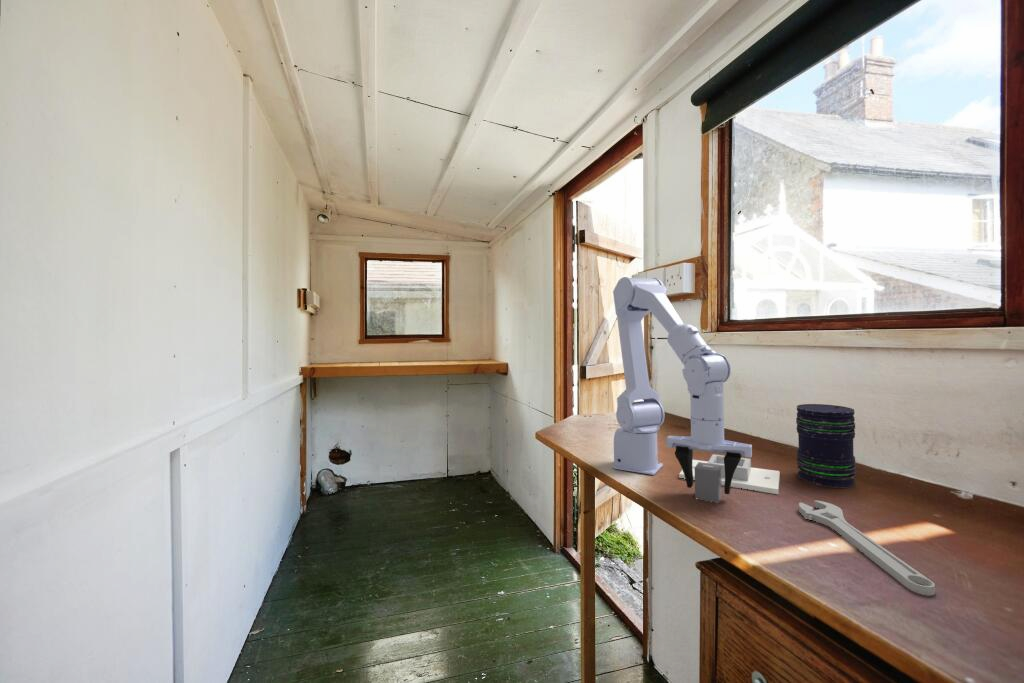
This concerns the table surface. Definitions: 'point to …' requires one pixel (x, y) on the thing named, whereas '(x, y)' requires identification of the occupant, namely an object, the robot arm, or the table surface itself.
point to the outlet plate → (744, 475)
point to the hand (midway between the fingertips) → (708, 489)
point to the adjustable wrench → (868, 547)
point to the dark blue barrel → (826, 445)
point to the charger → (708, 482)
